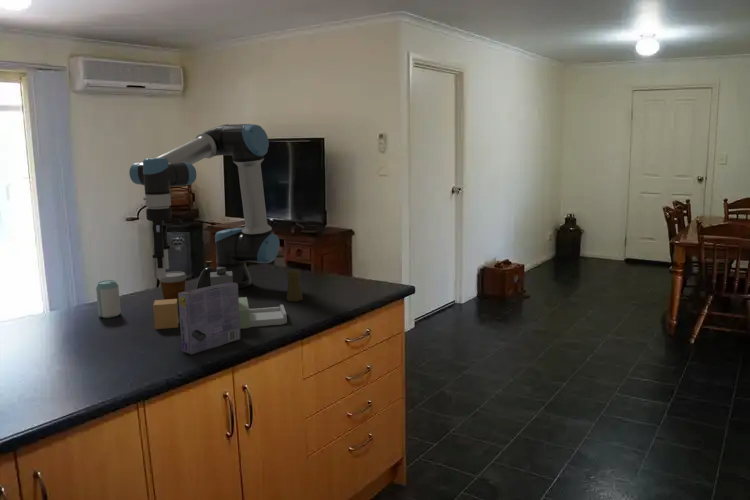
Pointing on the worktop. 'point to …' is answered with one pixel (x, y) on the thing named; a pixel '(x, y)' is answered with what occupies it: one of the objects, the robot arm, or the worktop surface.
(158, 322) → the cardboard box
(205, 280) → the pump dispenser
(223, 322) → the cake pan box
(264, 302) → the worktop surface
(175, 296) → the disposable coffee cup
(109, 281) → the can
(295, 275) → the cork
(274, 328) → the worktop surface
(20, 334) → the worktop surface
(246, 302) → the pale green boxy piece
